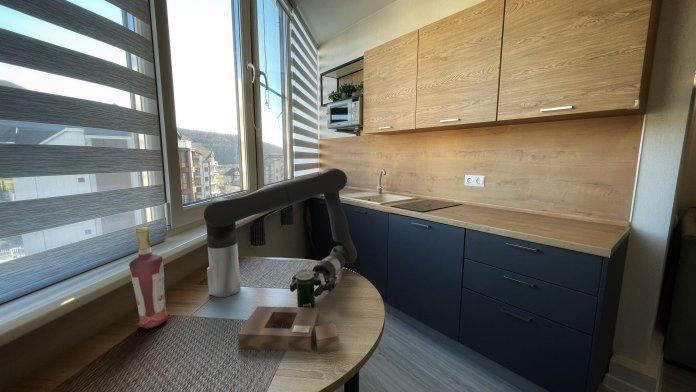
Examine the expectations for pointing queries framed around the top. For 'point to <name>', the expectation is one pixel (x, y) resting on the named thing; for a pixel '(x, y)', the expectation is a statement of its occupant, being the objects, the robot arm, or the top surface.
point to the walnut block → (326, 338)
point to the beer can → (305, 289)
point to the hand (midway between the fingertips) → (303, 291)
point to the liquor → (148, 283)
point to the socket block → (265, 337)
